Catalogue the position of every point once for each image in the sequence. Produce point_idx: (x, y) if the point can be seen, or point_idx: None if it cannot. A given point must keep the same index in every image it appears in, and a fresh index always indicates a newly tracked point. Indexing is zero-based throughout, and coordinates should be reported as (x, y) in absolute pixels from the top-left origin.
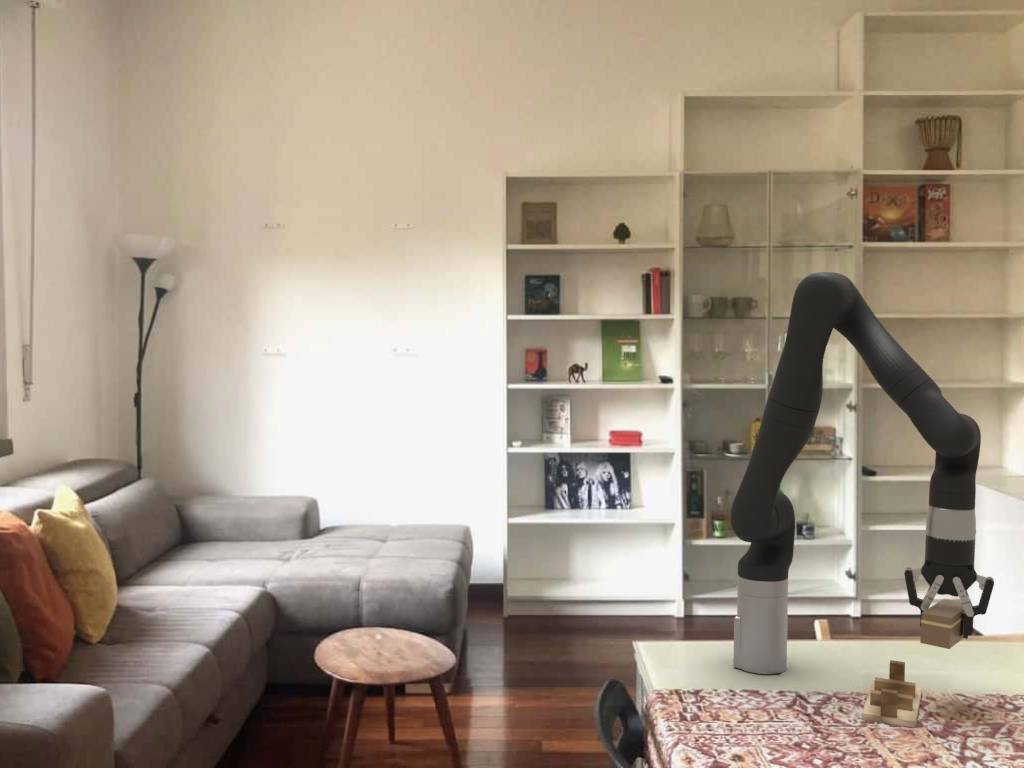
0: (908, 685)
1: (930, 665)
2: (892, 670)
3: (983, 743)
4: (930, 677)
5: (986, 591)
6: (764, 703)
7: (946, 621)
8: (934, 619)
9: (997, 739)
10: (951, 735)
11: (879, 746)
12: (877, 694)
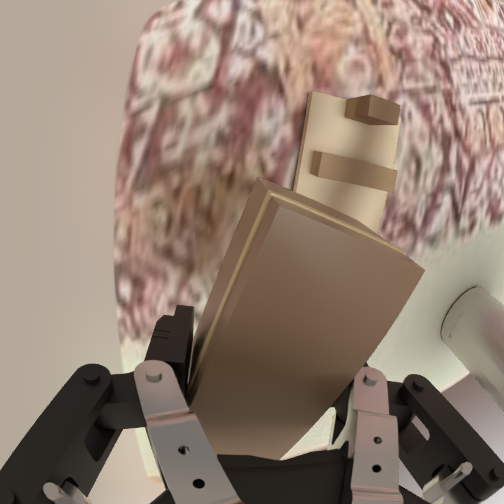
0: None
1: None
2: None
3: (186, 60)
4: None
5: (38, 462)
6: (491, 170)
7: (299, 209)
8: (360, 236)
9: (156, 91)
10: (242, 79)
11: (368, 11)
12: (385, 167)
